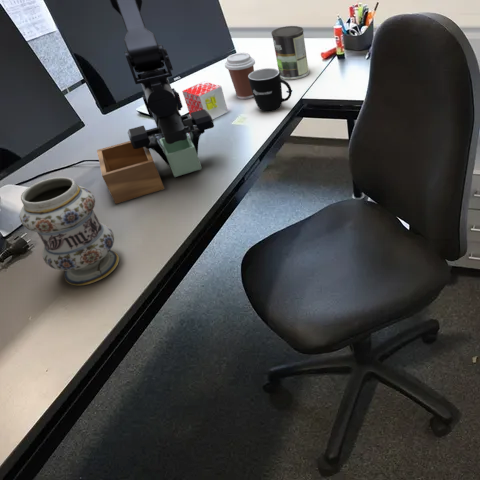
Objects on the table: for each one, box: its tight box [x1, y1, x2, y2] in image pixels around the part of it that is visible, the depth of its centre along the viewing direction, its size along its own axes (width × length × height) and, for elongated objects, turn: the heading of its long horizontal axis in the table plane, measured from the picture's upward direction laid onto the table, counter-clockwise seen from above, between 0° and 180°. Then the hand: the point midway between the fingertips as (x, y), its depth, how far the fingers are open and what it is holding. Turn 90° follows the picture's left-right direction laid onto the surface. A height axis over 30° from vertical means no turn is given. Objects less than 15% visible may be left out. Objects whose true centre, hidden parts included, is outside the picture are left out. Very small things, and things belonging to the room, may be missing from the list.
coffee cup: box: [224, 52, 256, 100], centre depth 150 cm, size 9×9×12 cm
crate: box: [96, 140, 165, 205], centre depth 114 cm, size 14×11×8 cm
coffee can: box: [270, 25, 310, 80], centre depth 160 cm, size 10×10×14 cm
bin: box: [158, 133, 202, 178], centre depth 118 cm, size 10×7×6 cm
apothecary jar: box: [19, 176, 120, 286], centre depth 87 cm, size 12×12×18 cm
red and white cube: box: [182, 81, 229, 121], centre depth 142 cm, size 8×8×8 cm
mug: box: [248, 67, 292, 113], centre depth 141 cm, size 12×9×10 cm
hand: (182, 160), depth 119 cm, fingers closed on bin, 6 cm apart
